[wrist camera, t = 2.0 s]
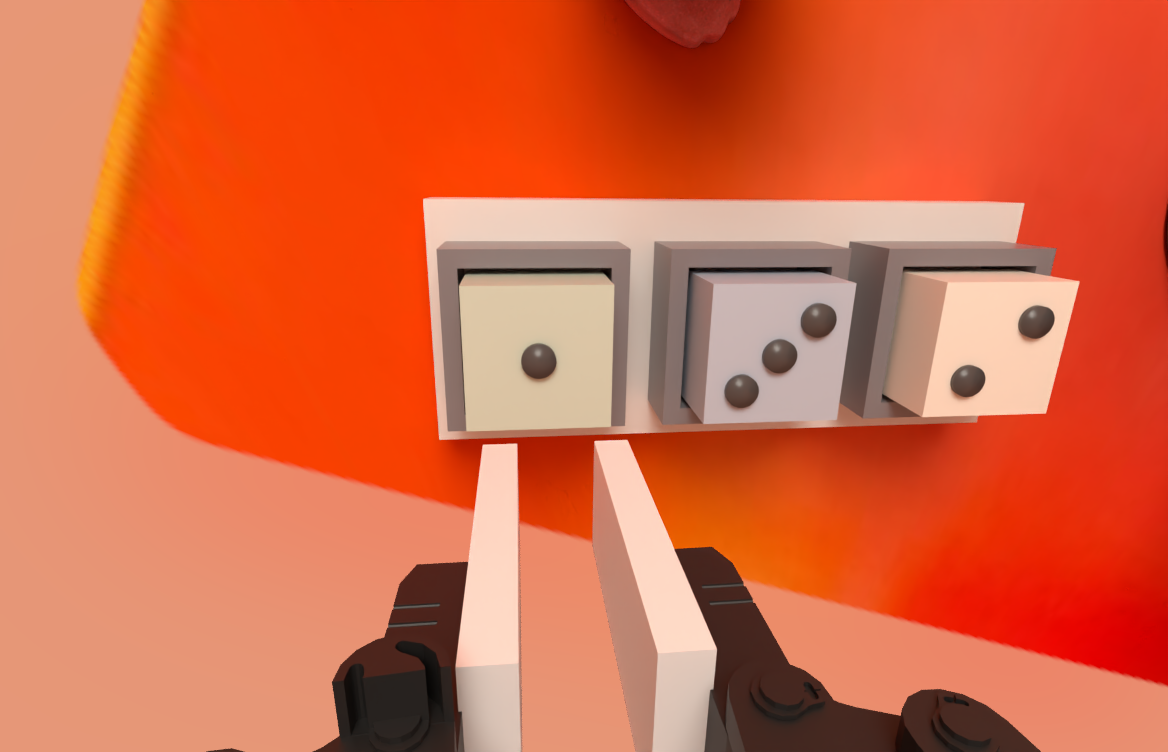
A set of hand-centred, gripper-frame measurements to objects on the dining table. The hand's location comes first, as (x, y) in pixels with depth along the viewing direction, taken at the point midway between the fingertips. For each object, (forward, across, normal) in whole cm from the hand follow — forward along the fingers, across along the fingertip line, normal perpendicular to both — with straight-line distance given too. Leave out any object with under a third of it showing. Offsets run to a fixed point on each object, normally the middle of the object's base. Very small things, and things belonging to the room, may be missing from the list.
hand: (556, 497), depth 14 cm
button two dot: (+15, -20, 0) cm, 25 cm away
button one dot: (+15, 0, 0) cm, 15 cm away
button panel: (+20, -10, 0) cm, 23 cm away
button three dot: (+15, -10, 0) cm, 18 cm away
